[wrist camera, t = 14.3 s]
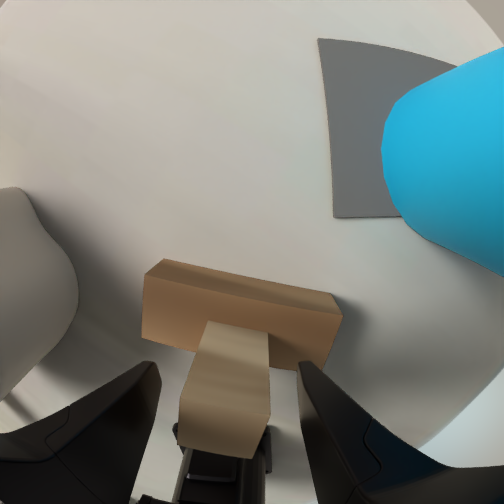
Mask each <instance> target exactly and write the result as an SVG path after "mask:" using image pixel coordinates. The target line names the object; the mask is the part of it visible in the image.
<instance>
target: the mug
mask: <svg viewBox="0 0 504 504" xmlns="http://www.w3.org/2000/svg"><path fill="white" fill-rule="evenodd" d="M381 153H382V162H383V173H384V179H385V181H386V184H387V187H388V190H389V193H390V196H391V199H392V202H393V204H394V205H395V207H396V208H397V210H398V211H399V213H400V214H401V216H402V217H403V219H404V221H405V222H406V224H407V225H408V226H410V227H411V228H412V229H413V230H415V231H416V232H417V233H418V234H420V235H421V236H422V237H423V238H425V239H427V240H430V241H432V242H434V243H436V244H438V245H441V246H443V247H445V248H447V249H449V250H451V251H453V252H455V253H457V254H460V255H462V256H464V257H466V258H468V259H470V260H472V261H474V262H476V263H478V264H480V265H482V266H483V267H485V268H487V269H489V270H491V271H493V272H495V273H497V274H499V275H500V276H502V277H504V47H502V48H500V49H497V50H495V51H492V52H490V53H488V54H485V55H483V56H480V57H478V58H476V59H474V60H471V61H469V62H467V63H465V64H462V65H460V66H458V67H456V68H454V69H452V70H450V71H448V72H445V73H443V74H441V75H439V76H437V77H435V78H433V79H431V80H429V81H427V82H425V83H423V84H421V85H419V86H417V87H415V88H413V89H411V90H410V91H409V92H407V93H406V94H405V95H404V96H403V97H401V98H400V99H399V100H398V101H397V102H395V104H394V106H393V108H392V110H391V112H390V114H389V116H388V118H387V120H386V122H385V126H384V133H383V140H382V146H381Z"/></svg>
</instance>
